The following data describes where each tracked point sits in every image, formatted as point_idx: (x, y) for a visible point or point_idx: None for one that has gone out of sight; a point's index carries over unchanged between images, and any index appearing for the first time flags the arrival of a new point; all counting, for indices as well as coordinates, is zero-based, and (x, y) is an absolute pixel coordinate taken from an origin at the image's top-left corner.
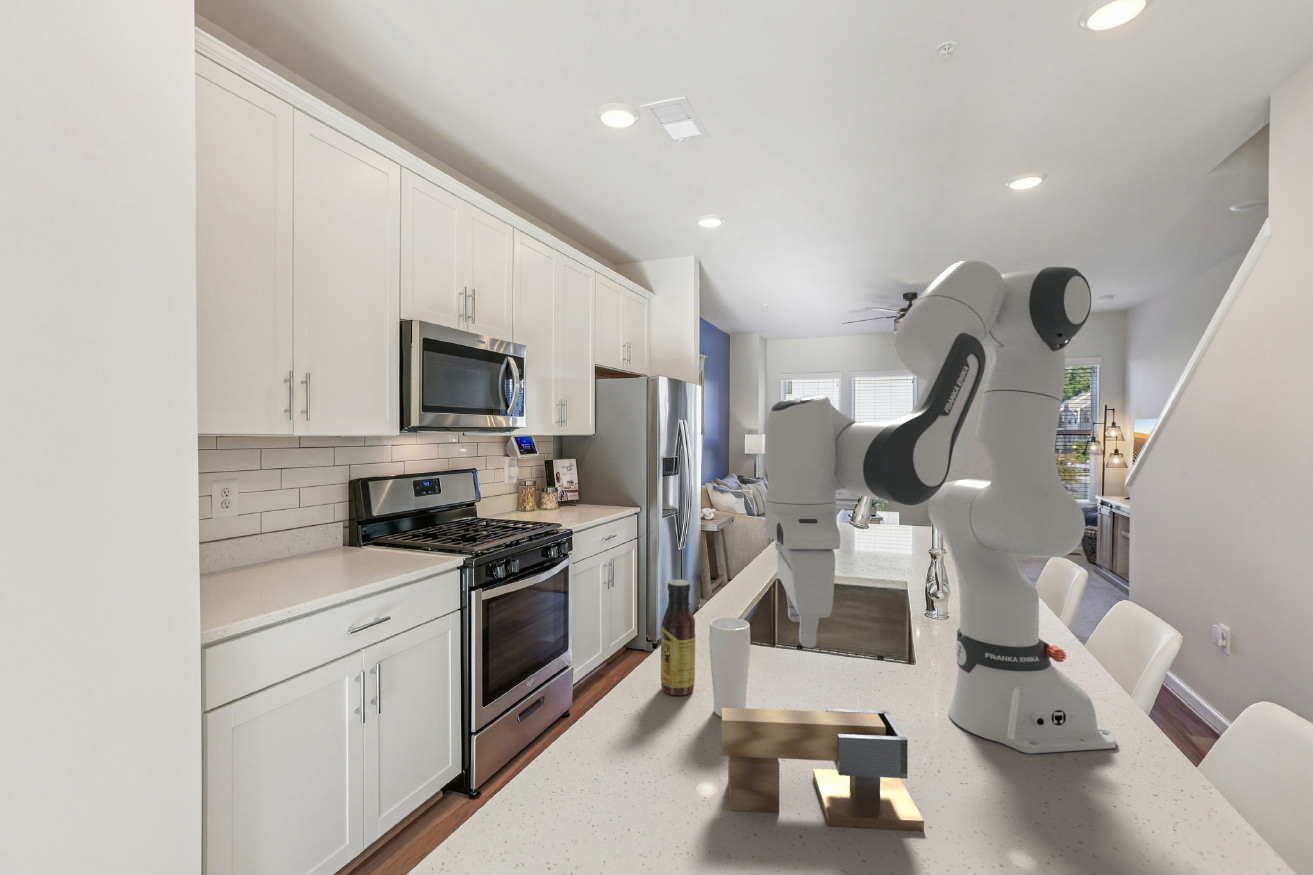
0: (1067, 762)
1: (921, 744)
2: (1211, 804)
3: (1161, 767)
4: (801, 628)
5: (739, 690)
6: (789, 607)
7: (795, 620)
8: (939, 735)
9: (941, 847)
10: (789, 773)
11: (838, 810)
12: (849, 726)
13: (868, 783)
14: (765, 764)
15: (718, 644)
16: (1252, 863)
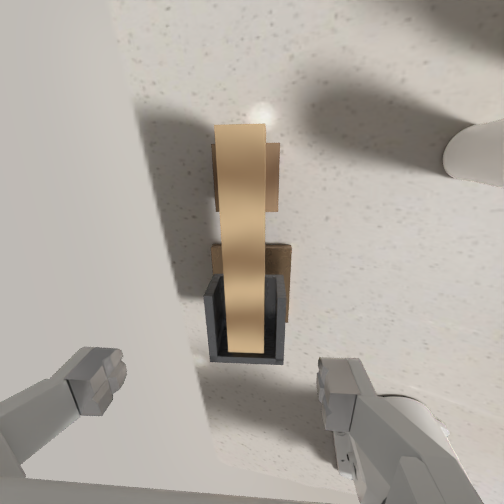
0: (319, 436)
1: (353, 356)
2: (270, 472)
3: (312, 476)
4: (23, 391)
5: (474, 170)
6: (345, 394)
7: (319, 369)
8: (369, 375)
9: (201, 319)
10: (298, 221)
11: (220, 258)
12: (226, 314)
13: None
14: (215, 193)
15: None
16: (217, 456)
